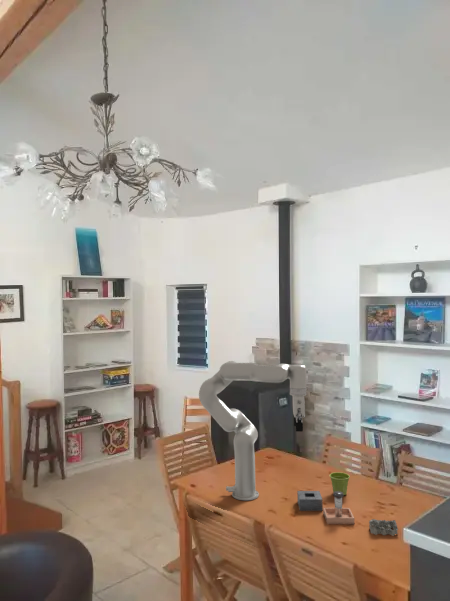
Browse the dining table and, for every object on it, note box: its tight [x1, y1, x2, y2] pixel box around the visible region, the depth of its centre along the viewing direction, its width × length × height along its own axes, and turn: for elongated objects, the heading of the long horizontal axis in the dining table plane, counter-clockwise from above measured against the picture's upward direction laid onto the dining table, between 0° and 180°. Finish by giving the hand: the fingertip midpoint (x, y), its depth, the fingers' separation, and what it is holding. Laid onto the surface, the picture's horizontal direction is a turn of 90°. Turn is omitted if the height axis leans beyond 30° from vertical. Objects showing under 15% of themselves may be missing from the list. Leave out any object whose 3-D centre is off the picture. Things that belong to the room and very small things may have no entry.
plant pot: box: [329, 471, 351, 496], centre depth 237 cm, size 9×9×9 cm
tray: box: [322, 507, 356, 525], centre depth 209 cm, size 11×10×2 cm
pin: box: [332, 491, 344, 517], centre depth 209 cm, size 4×4×10 cm
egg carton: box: [368, 518, 399, 537], centre depth 197 cm, size 11×8×4 cm
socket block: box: [296, 490, 324, 512], centre depth 223 cm, size 10×10×5 cm
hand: (298, 428), depth 230 cm, fingers open, 9 cm apart
